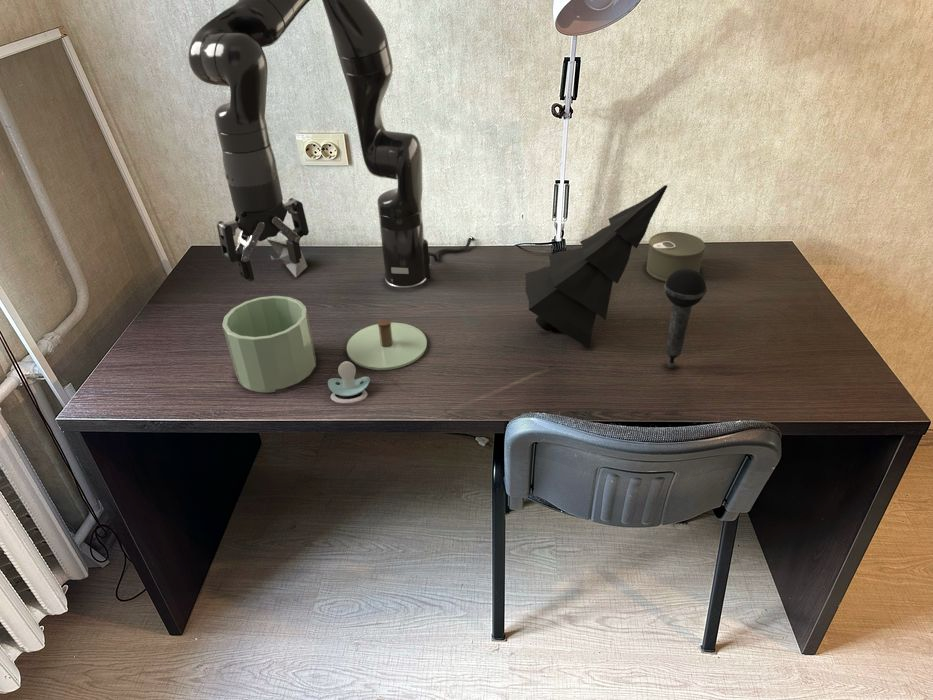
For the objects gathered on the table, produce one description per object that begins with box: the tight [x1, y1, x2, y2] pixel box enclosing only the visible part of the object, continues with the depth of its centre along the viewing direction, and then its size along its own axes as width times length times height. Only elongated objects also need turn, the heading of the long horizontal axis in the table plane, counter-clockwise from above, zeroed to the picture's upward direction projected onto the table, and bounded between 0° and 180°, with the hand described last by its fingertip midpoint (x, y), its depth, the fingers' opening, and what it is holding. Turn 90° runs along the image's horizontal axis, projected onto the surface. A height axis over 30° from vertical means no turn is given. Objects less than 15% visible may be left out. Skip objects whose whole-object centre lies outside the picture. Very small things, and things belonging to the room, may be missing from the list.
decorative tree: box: [525, 184, 668, 349], centre depth 125 cm, size 15×15×35 cm
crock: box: [221, 295, 317, 394], centre depth 122 cm, size 14×14×12 cm
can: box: [646, 231, 706, 282], centre depth 150 cm, size 12×12×7 cm
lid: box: [346, 318, 428, 371], centre depth 128 cm, size 15×15×6 cm
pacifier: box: [327, 360, 371, 404], centre depth 116 cm, size 7×6×6 cm
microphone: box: [663, 268, 708, 369], centre depth 116 cm, size 7×7×20 cm
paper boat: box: [266, 238, 308, 278], centre depth 157 cm, size 12×6×9 cm
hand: (272, 270), depth 111 cm, fingers open, 8 cm apart
